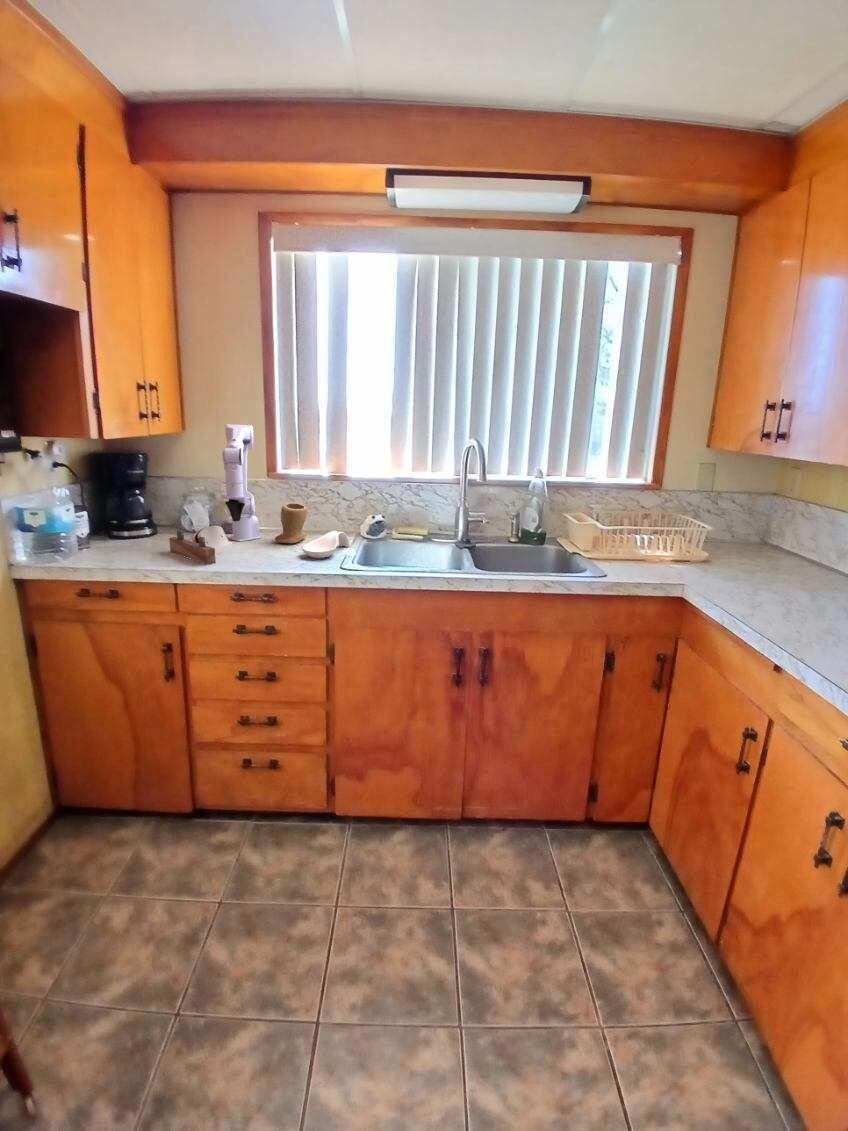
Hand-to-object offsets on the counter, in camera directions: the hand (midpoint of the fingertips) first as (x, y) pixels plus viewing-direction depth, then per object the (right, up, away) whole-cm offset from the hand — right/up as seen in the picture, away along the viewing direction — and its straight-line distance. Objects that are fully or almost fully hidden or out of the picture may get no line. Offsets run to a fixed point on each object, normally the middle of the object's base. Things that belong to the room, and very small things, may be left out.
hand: (236, 520), depth 201 cm
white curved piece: (-8, -11, -1) cm, 14 cm away
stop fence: (-11, -13, -10) cm, 20 cm away
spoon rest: (+32, -12, +3) cm, 35 cm away
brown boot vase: (+16, -7, +19) cm, 25 cm away
